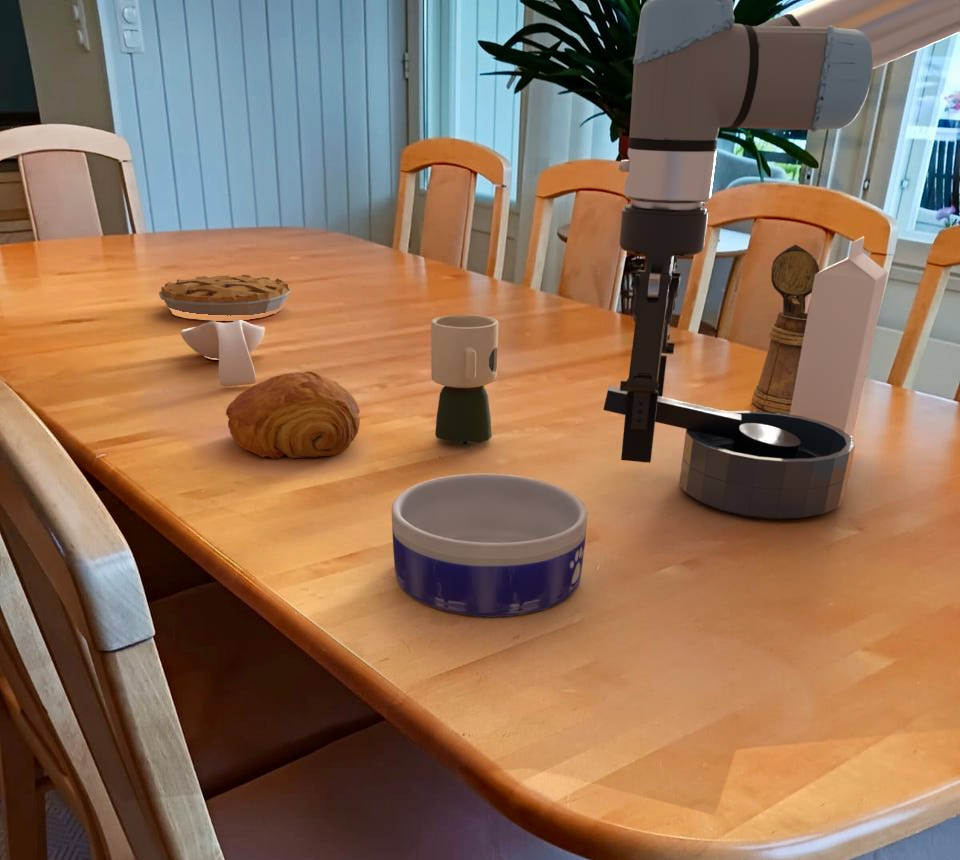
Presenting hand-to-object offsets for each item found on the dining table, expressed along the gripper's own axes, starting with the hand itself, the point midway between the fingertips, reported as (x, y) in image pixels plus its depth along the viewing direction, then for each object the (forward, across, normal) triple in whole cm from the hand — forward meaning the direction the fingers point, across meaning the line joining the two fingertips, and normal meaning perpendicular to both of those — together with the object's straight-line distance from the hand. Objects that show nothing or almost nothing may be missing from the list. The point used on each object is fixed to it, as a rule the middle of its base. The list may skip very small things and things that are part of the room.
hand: (641, 438), depth 96 cm
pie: (+5, -66, -76) cm, 101 cm away
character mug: (+5, -8, -20) cm, 22 cm away
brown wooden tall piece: (+5, -35, +16) cm, 39 cm away
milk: (+5, -14, +18) cm, 24 cm away
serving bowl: (+4, 0, +12) cm, 13 cm away
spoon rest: (+5, -31, -59) cm, 67 cm away
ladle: (+3, 0, +5) cm, 6 cm away
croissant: (+5, -3, -38) cm, 38 cm away
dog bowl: (+5, +25, -10) cm, 27 cm away
